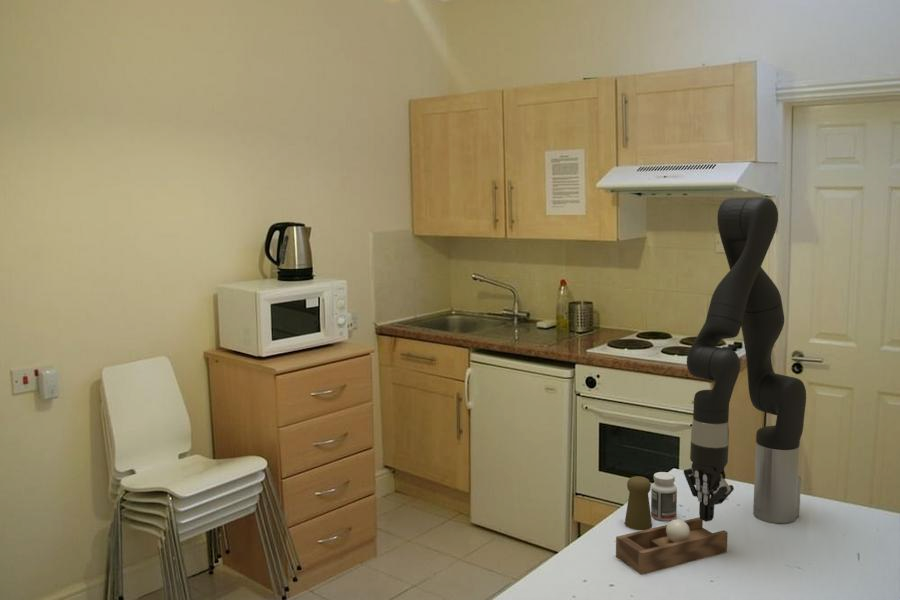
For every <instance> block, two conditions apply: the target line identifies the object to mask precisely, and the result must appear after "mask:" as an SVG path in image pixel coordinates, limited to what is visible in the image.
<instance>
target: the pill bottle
mask: <svg viewBox="0 0 900 600" xmlns="http://www.w3.org/2000/svg"><path fill="white" fill-rule="evenodd" d="M653 481H654V482H653V483H652V484H651V489H650V492H651V493H650V494H651V495H650V496H651V497H650V499H651V500H650V502H651V504H650V513H651V518H653V519H655V520H658V521H662V522H667V521H668V522H670V521H672V520H674V519H677V518H676V517H677V515H678V514H677V512H678V511H677V507H678V506H677V505H678V504H677V502H678V501H677V500H678V499H677V498H678V495H677V494H678V489H677V488H678V487H677V485H676V484H674V483H675V481H676V478H675V475H674V474H673V473H671V472H668V471H667V472H665V471H659V472H655V473H654V474H653Z"/></svg>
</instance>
